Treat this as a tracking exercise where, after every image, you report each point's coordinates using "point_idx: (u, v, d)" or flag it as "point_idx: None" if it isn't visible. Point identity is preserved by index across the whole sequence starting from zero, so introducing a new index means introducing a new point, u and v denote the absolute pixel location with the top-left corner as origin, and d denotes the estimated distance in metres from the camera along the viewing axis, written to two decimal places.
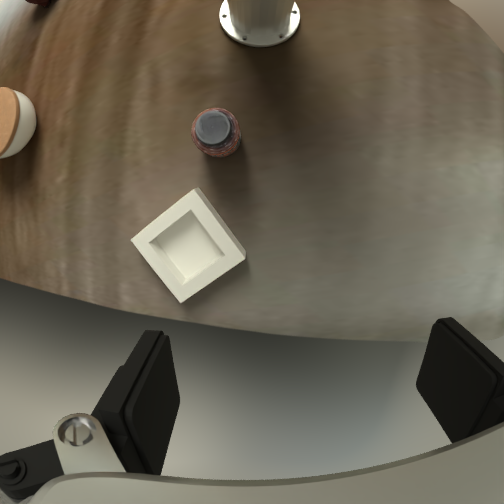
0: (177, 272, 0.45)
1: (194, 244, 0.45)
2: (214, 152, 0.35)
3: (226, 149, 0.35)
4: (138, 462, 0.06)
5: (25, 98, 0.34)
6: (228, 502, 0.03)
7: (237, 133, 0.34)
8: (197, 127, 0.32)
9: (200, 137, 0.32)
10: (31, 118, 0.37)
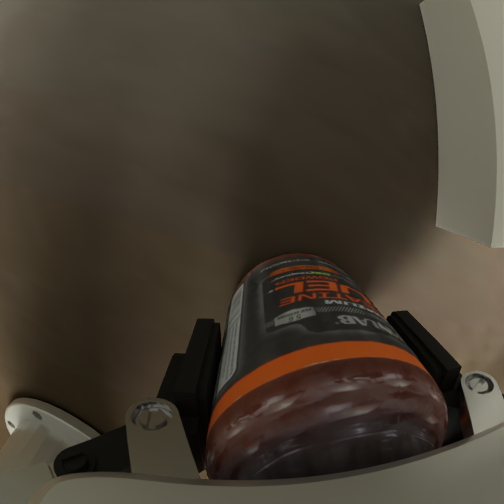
0: None
1: None
2: (430, 395, 0.05)
3: (374, 382, 0.05)
4: (203, 443, 0.07)
5: None
6: (228, 502, 0.03)
7: (246, 427, 0.05)
8: None
9: None
10: None
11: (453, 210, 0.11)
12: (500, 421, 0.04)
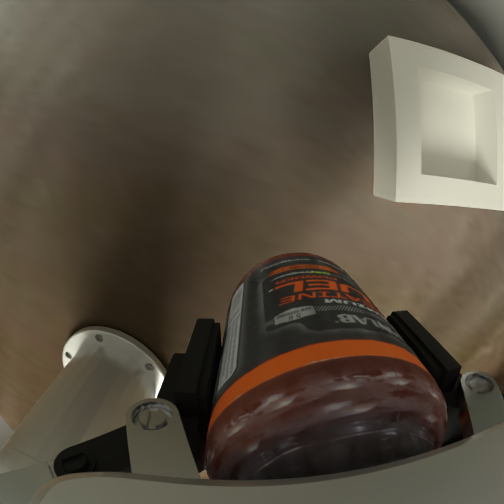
0: (482, 112, 0.18)
1: (437, 122, 0.19)
2: (430, 394, 0.05)
3: (373, 381, 0.05)
4: (203, 443, 0.07)
5: None
6: (228, 502, 0.03)
7: (246, 425, 0.05)
8: None
9: None
10: None
11: (380, 184, 0.21)
12: (500, 421, 0.04)
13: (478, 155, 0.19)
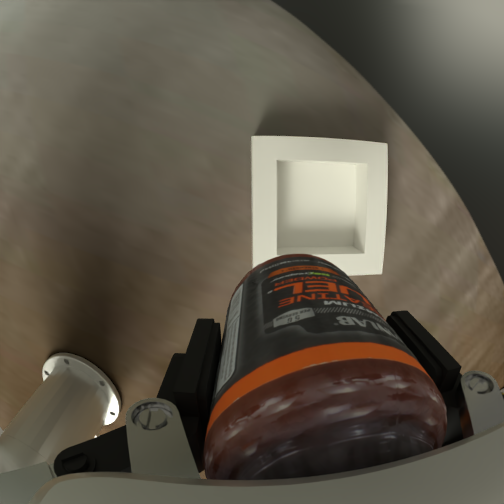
0: (360, 183, 0.26)
1: (310, 199, 0.28)
2: (429, 397, 0.05)
3: (372, 384, 0.05)
4: (203, 443, 0.07)
5: None
6: (228, 502, 0.03)
7: (244, 428, 0.05)
8: None
9: None
10: None
11: None
12: (500, 421, 0.04)
13: (355, 223, 0.28)
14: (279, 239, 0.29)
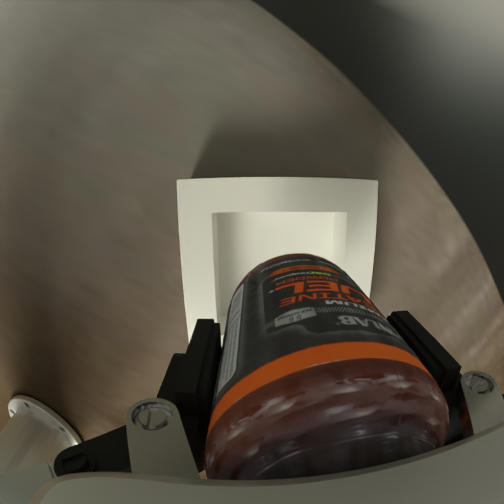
0: (338, 235, 0.20)
1: (268, 257, 0.21)
2: (432, 396, 0.05)
3: (375, 384, 0.04)
4: (203, 443, 0.07)
5: None
6: (228, 502, 0.03)
7: (246, 428, 0.05)
8: None
9: None
10: None
11: None
12: (500, 421, 0.04)
13: None
14: (228, 306, 0.22)
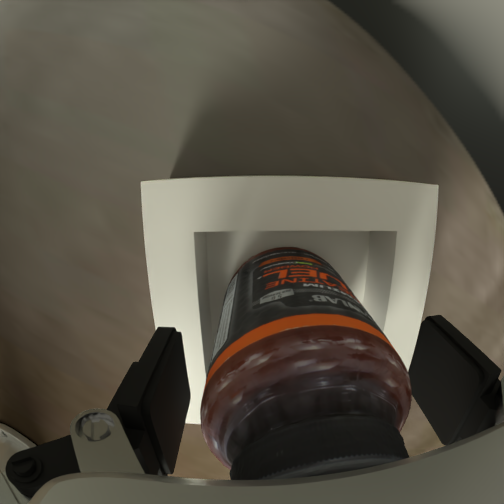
0: (377, 261, 0.13)
1: None
2: (388, 361, 0.06)
3: (335, 344, 0.06)
4: (155, 456, 0.06)
5: None
6: (228, 502, 0.03)
7: (232, 380, 0.06)
8: None
9: None
10: None
11: None
12: None
13: None
14: None
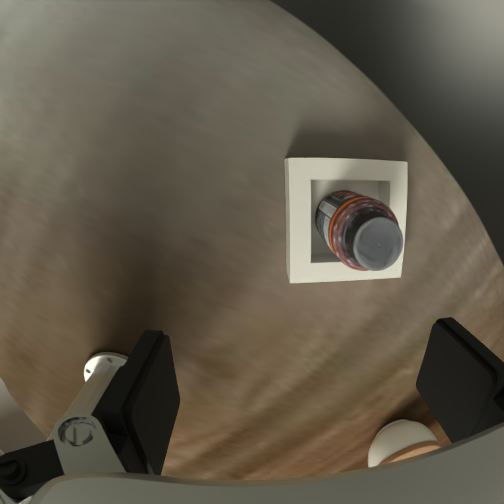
0: (383, 197, 0.29)
1: None
2: (388, 208, 0.22)
3: (372, 201, 0.22)
4: (138, 462, 0.06)
5: (369, 461, 0.37)
6: (228, 502, 0.03)
7: (345, 211, 0.22)
8: (395, 257, 0.20)
9: (401, 242, 0.20)
10: (380, 442, 0.37)
11: (287, 264, 0.32)
12: None
13: None
14: (311, 247, 0.32)
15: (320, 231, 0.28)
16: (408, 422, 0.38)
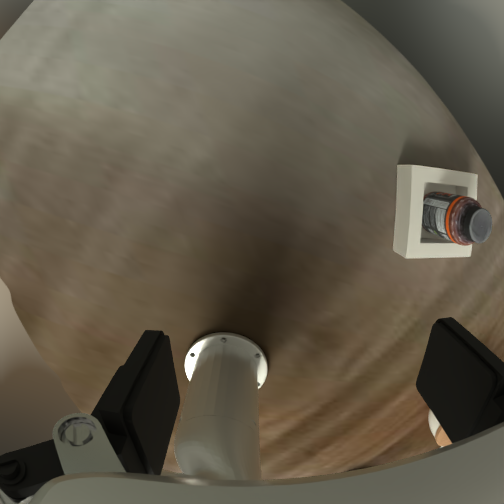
0: None
1: None
2: (479, 204, 0.28)
3: (472, 198, 0.28)
4: (138, 462, 0.06)
5: (432, 420, 0.43)
6: (228, 502, 0.03)
7: (459, 204, 0.28)
8: (488, 235, 0.26)
9: (491, 225, 0.26)
10: None
11: (397, 245, 0.38)
12: None
13: None
14: None
15: (428, 219, 0.34)
16: None
